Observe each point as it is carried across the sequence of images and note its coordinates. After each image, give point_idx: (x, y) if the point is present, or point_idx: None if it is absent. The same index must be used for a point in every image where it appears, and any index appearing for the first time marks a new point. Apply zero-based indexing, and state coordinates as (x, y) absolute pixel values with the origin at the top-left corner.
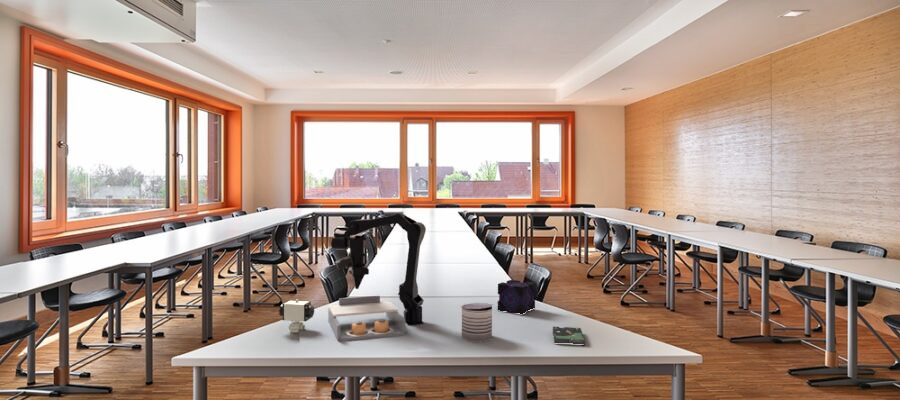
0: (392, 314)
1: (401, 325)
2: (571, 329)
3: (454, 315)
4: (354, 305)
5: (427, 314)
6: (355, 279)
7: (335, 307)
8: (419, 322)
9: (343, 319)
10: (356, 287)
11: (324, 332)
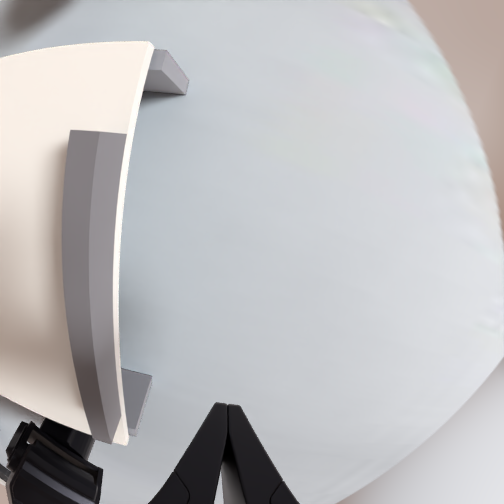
0: None
1: None
2: (5, 479)
3: (132, 487)
4: (57, 251)
5: (163, 468)
6: (159, 501)
7: (58, 88)
8: None
9: (240, 191)
10: (206, 418)
11: (59, 45)
